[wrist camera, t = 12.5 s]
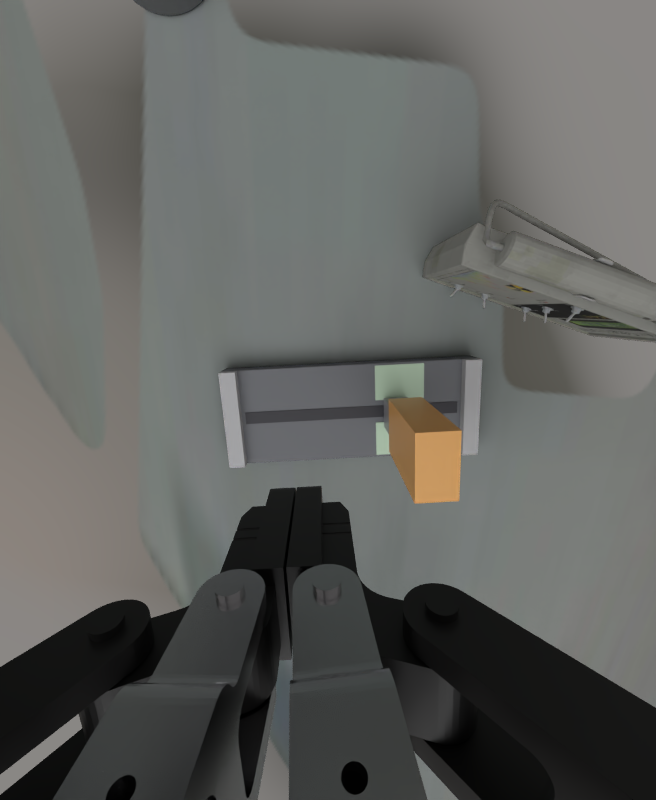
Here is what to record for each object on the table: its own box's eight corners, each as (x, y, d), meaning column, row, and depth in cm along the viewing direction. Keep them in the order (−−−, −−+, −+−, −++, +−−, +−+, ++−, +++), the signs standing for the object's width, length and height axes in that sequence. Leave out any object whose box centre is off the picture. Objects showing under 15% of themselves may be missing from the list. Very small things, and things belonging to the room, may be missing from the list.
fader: (381, 435, 38) (414, 503, 25) (380, 388, 37) (415, 433, 24) (410, 433, 38) (459, 501, 25) (410, 386, 37) (461, 430, 24)
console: (236, 456, 41) (229, 468, 38) (225, 368, 39) (218, 373, 36) (466, 444, 41) (477, 454, 39) (470, 355, 39) (482, 359, 36)
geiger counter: (468, 274, 24) (790, 388, 26) (509, 170, 22) (846, 299, 25) (415, 286, 37) (630, 361, 40) (438, 222, 36) (660, 303, 38)
